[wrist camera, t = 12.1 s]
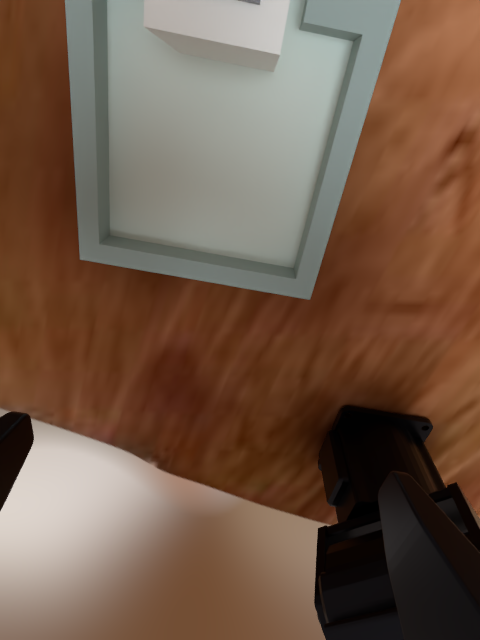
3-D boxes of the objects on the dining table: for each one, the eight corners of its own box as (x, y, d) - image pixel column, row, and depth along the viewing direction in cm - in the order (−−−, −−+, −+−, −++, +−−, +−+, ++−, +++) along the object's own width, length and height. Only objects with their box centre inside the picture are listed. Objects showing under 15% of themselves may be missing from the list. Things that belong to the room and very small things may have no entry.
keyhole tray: (466, -271, 11) (504, -341, 9) (305, 284, 21) (310, 299, 19) (74, -370, 11) (38, -464, 9) (95, 246, 20) (79, 259, 18)
